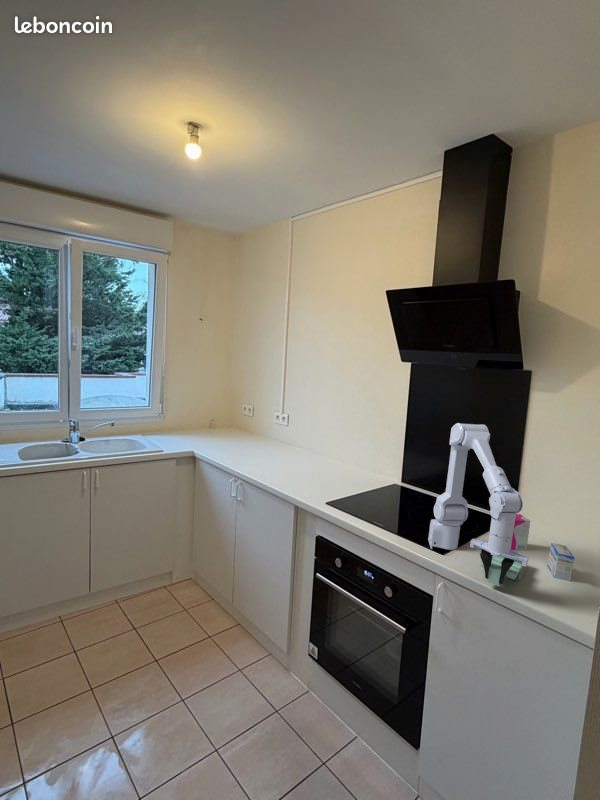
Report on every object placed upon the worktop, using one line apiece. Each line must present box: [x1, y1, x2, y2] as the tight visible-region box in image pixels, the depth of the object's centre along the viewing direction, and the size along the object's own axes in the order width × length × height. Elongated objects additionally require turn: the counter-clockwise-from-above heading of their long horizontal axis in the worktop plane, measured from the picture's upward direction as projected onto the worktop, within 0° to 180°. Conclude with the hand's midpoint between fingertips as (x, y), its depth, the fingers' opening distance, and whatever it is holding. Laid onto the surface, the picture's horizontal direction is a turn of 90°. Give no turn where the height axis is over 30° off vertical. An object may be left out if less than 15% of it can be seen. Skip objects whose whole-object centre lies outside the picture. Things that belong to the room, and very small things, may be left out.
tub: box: [505, 554, 528, 582], centre depth 128 cm, size 9×11×4 cm
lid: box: [479, 556, 522, 587], centre depth 120 cm, size 9×14×4 cm, turn 141°
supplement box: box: [511, 513, 531, 551], centre depth 144 cm, size 6×6×12 cm
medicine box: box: [546, 542, 575, 582], centre depth 127 cm, size 8×4×9 cm, turn 163°
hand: (494, 579), depth 115 cm, fingers closed on lid, 3 cm apart
